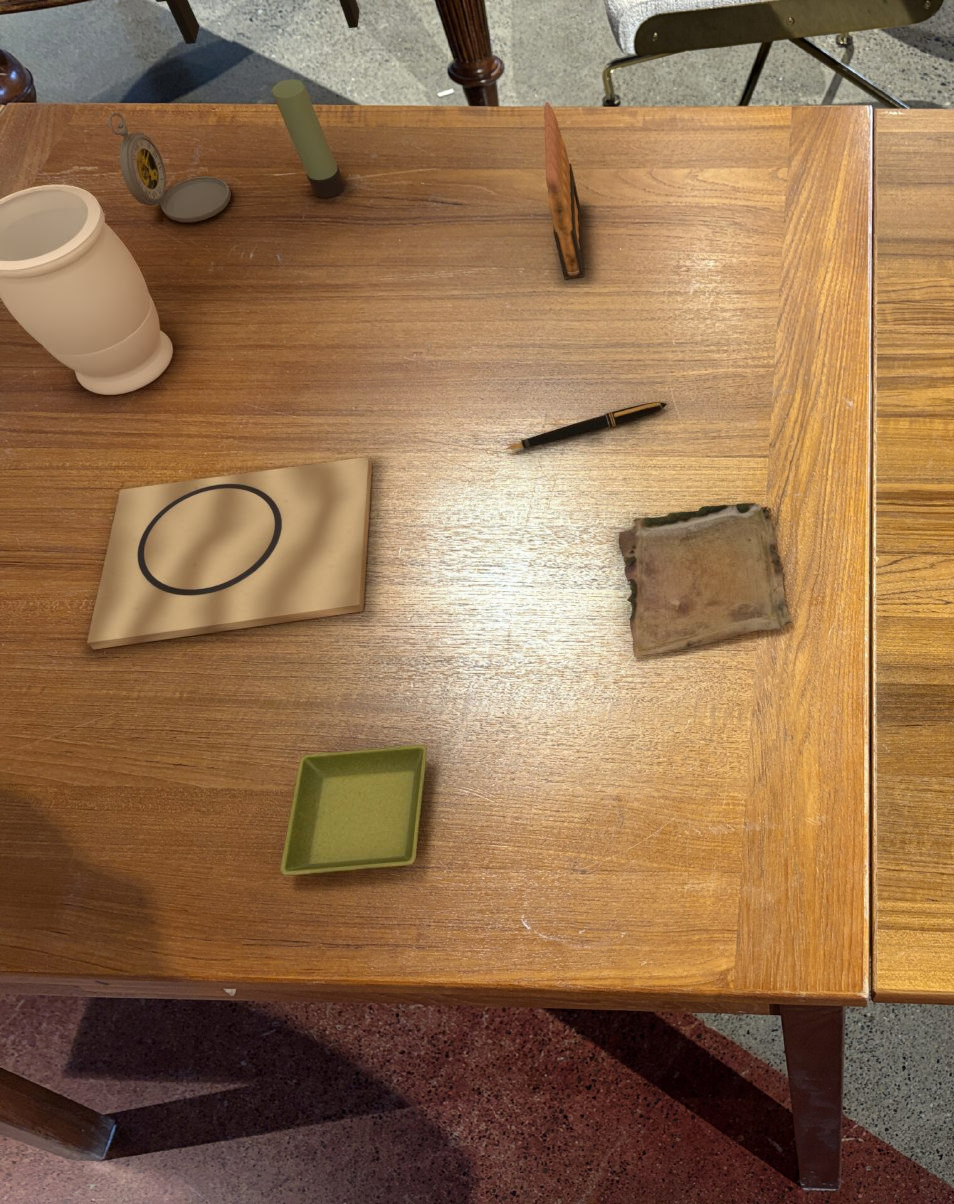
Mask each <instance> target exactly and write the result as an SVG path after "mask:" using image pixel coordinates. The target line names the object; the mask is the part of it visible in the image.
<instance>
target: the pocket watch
mask: <svg viewBox="0 0 954 1204" xmlns="http://www.w3.org/2000/svg"><path fill="white" fill-rule="evenodd" d="M114 116H117V117H118V118H119V117H120V120H121V122H119V123H117V124H116V127H117V128H118V129H117V131H116V130H115V129H114V128H113V124H112V119H113V117H114ZM108 128H109V129H110V131H111V133H113V134H114V135H116V136H122V137H123V138H122V140H121V142H120V147H119V166H120V171H121V175H122V178H123V181H124V183H125V185H126V188H127V189H128V191H129V192H130V193H129V194H131V196H132V197H133V198H134V199H135V200H136V201H137V202H139V203H140V204H143V205H146V206H158V205H159V206H160V208H161V210H162V212H163V213H164V214H165V216H166V217H168V218H169V219H171V220H172V221H176V222H179V223H197V222H201V221H205V220H208V219H210V218H213V217H215V216H216V215H218V214H219V213H221V212H223V210H224V209H225V208H226V207H227V206H228V204H229V202H230V201H231V196H232V194H231V189H230V187H229V185H228V184H227V182H226V181H224V180H223V179H220V178H219V177H215V176H210V175H209V176H208V175H207V176H206V175H202V176H196V177H189V178H186V179H184V180H181V181H179V182H177V183H176V184H174V185H173V186H171V187H170V188H169V189H167V174H166V173H167V172H166V168H165V164H164V161H163V157H162V155H161V153H160V151H159V148H158V147H157V146H156V144H155V143H154V142H153V140H152V139H151V137H149V136H148V135H147V134H145V133H143V132H138V131H137V132H136V131H135V132H131V133H128V131H129V129H128V126H127V125H126V120H125V118H124V116H123V115H122V114H121V113H119V112H112V113H111V114H110V116H109V117H108Z"/></svg>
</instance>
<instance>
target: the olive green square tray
mask: <svg viewBox="0 0 954 1204" xmlns="http://www.w3.org/2000/svg"><path fill="white" fill-rule="evenodd" d="M427 755H428V748H427V746H426V745H424V744H417V745H416V744H415V745H413V744H412V745H404V746H403V745H402V746H392V747H390V746H389V747H381V748H370V749H358V750H346V751H333V752H318V753H317V752H316V753H308V754H304V755H302V756H301V758H300V760H299V762H298V766H297V773H296V778H295V785H294V792H293V797H292V801H291V802H292V803H291V808H290V812H289V819H288V824H287V830H286V835H285V839H284V844H283V851H282V857H281V863H280V868H279V869H280V873H281V874H282V875H283V876H297V875H298V876H299V875H309V874H310V875H311V874H321V873H334V872H345V871H356V870H367V869H379V868H390V867H391V868H392V867H403V866H411V865H413V864H414V863H415V861H416V858H417V851H418V850H417V848H418V838H419V829H420V821H421V819H420V818H421V810H422V800H423V793H424V792H423V791H424V782H425V774H426V766H427V765H426V764H427Z"/></svg>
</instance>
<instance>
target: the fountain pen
mask: <svg viewBox="0 0 954 1204" xmlns="http://www.w3.org/2000/svg"><path fill="white" fill-rule="evenodd" d="M667 405H668V403H666V402H662V401H654V402H648V403H643V404H638V405H633V406H628V407H625V408H621V409H618V410H617V409H616V410H615V411H610V412H606V413H604V415H599V416H595V417H592V418H589V419H585V420H582V421H578V422H575V423H571V424H569V425H565V426H561V427H559V428H555V429H551V430H549V431H546V432H543V433H540V434H536V435H533V436H531V437H528V438H524V439H521V441H520V442H519V443H514V444H511V445H510V446H508V447H505V448H504V449H502V450H512V451H513V450H514V451H515V450H517V449H520V448H521V449H523V450H526V449H530V448H534V447H538V446H543V445H547V444H550V443H555V442H558V441H562V440H563V441H564V440H566V439H571V438H575V437H578V436H582V435H586V434H589V433H592V432H596V431H600V430H604V429H608V428H609V429H611V428H614V427H617V426H621V425H624V424H626V423H630V422H631V423H632V422H634V421H637V420H639V419H643V418H645V417H649V416H651V415H653V414H655V413H658V412H660V411H662V410H663V409H664V408H665V407H666V406H667Z"/></svg>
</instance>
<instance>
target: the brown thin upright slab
mask: <svg viewBox="0 0 954 1204" xmlns="http://www.w3.org/2000/svg"><path fill="white" fill-rule="evenodd" d="M543 111H544V112H543V117H544V118H543V119H544V143H545V144H544V152H545V158H544V159H545V162H544V163H545V183H546V188H547V193H548V194H547V195H548V204H549V210H550V215H551V219H552V223H553V224H552V225H553V237H554V241H555V245H556V250H557V254H558V258H559V263H560V267H561V271H562V275H563V279H564V280H568V279H569V280H570V279H578V278H584V277H585V269H584V252H583V248H584V247H583V232H582V231H583V229H582V211H581V209H582V207H581V204H580V199H579V194H578V190H577V185H576V181H575V176H574V172H573V166H572V164H571V163H570V160H569V156H568V152H567V147H566V144H565V141H564V138H563V137H562V132H561V130H560V125H559V121H558V119H557V116H556V114H555V111H554V109H553V107H552V106H551V104H550V103H549V102H548V101H546V102H545V104H544V109H543Z"/></svg>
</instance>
